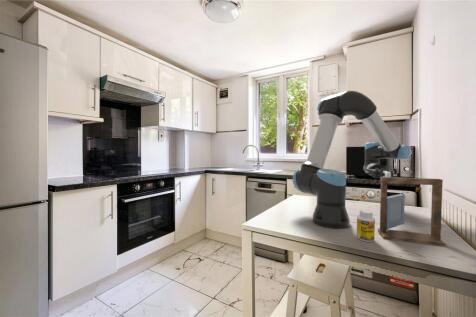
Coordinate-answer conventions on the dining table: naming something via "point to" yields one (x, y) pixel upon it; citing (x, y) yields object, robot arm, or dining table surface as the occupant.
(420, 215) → the dining table surface
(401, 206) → the panel
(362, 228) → the supplement bottle
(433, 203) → the gate frame
